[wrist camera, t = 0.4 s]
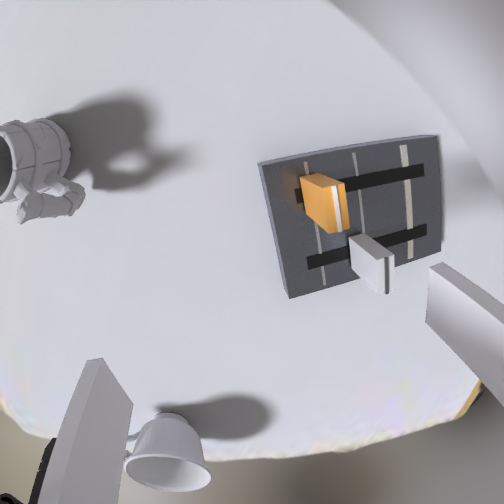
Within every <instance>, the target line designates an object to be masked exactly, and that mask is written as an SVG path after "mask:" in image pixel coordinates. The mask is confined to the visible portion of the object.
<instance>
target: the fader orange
mask: <svg viewBox="0 0 504 504" xmlns="http://www.w3.org/2000/svg"><path fill="white" fill-rule="evenodd" d="M300 182H301V188H302V193H303V199H304V204H305V210H306V214H307V215H308V216H309V217H310V218H311V219H312V220H314V221H315V222H316V223H317V224H318V225H319V226H321V227H322V228H323V229H324V230H325V231H326V232H327V233H328V234H330V233H334V232H342V230H346V229H350V224H349V215H348V207H347V200H346V192H345V185H344V183H342V182H340V181H337V180H335V179H332V178H330V177H327V176H324V175H322V174H319V173H316V174H311V175H306V176H301V177H300Z"/></svg>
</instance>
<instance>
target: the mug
mask: <svg viewBox="0 0 504 504" xmlns="http://www.w3.org/2000/svg"><path fill="white" fill-rule="evenodd" d="M70 148H71V144H70V140H69V138H68V135H67V134H66V132H65V131H64V130H63V129H62V128H60V127H59V126H58V125H57V124H56V123H55V122H53V121H51V120H47V119H45V118H41V119H34V120H31V121H29V122H27V123H23V122H20V121H19V120H14V121H11V122H8V123H5V124H3V125H1V126H0V204H1V203H3V202H13V201H17V200H20V201H21V202H22V203H21V204H20V205H19V207H18V209H17V214H16V216H17V220H18V223H19V224H23V223H24V222H26V221H28V220H31V219H35V218H46V217H53V218H55V217H57V216H62V215H63V216H72V215H73V214H74V212H75V210H77V209H79V207H80V206H81V204H82V203H83V201H84V199H85V191H84V190H85V189H84V187H82V186H81V185H79V184H77V183H75V182H72V181H70V180H68V179H66V178H64V177H63V176H64V174H65V173H66V171H67V169H68V167H69V164H70V159H68V158H71V152H70V151H69V149H70ZM51 188H52V189H53V190H55V191H57V192H58V193H60V196H59V197H55V196H53V195H49V194H45V193H42V192H45V191H47V190H49V189H51ZM40 193H42V194H40Z"/></svg>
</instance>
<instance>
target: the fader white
mask: <svg viewBox="0 0 504 504" xmlns="http://www.w3.org/2000/svg"><path fill="white" fill-rule="evenodd" d="M349 245H350V255H351V267H352V270H353V271H354V272H355V273H356V274H357V275H358V276H359V277H360V278H361V279H362V280H363V281H364V282H365V283H366V284H367V285H368V286H369V287H370V288H371V289H372V290H373V291H374V292H375V293H376V294H377V296H379V295H382V294H389V292H390V291H393V290H395V267H394V254H393V253H391V252H390V251H389V250H387V249H386V248H384V247H383V246H382V245H380V244H379V243H378V242H376V241H375V240H373V239H372V238H371V237H369V236H368V235H366V234H365V233H363V234H359V235H355V236H351V237H349Z"/></svg>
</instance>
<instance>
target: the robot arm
mask: <svg viewBox="0 0 504 504" xmlns="http://www.w3.org/2000/svg"><path fill="white" fill-rule="evenodd" d="M425 322H426V323H427V324H428V325H429V326H430V327H431V328H432V329H433V330H434V331H435V332H436V333H437V334H438V335H439V336H440V338H441V339H442V340H443V341H444V342H445V343H446V344H447V345H448V346H449V347H450V348H451V349H452V350H453V351H454V352H455V353H456V354H457V355H458V356H459V357H460V358H461V359H462V360H463V362H464V363H465V364H466V365H467V366H468V367H469V368H470V369H471V370H472V371H473V372H474V373H475V375H476V376H477V377H478V378H479V379H480V380H481V381H482V382H483V383H484V384H485V386H486V387H487V388H488V389H489V390H490V391H491V392H492V394H493V395H494V396H495V397H496V398H497V399H498V400H499V402H500V403H501V404H502V405H503V406H504V305H503V304H502V303H501V302H499V301H498V300H497V299H495V298H494V297H493V296H491V295H490V294H488V293H487V292H486V291H484V290H483V289H482V288H480V287H479V286H477V285H476V284H474V283H473V282H472V281H470V280H469V279H467V278H466V277H464V276H463V275H461V274H460V273H459V272H457V271H456V270H454V269H453V268H451V267H450V266H448V265H447V264H445V263H444V262H441V263H439V264H436V265H434V266H431V267H429V280H428V297H427V309H426V320H425ZM133 405H134V404H133V403H132V401H131V400H130V399H129V397H128V396H127V394H126V393H125V391H124V390H123V389H122V387H121V386H120V384H119V383H118V381H117V380H116V378H115V377H114V375H113V373H112V372H111V370H110V369H109V367H108V366H107V364H106V362H105V361H104V359H103V358H99V359H93V360H87V362H86V364H85V367H84V369H83V371H82V374H81V376H80V379H79V381H78V383H77V386H76V388H75V391H74V393H73V396H72V398H71V401H70V404H69V406H68V409H67V411H66V414H65V417H64V420H63V422H62V425H61V428H60V431H59V434H58V436H57V438H52V440H51V441H50V443H49V444H48V445H47V447H46V448H45V451H44V454H43V457H42V462H41V463H40V466H39V472H37V475H36V479H35V483H34V485H33V489H32V493H31V496H30V500H29V503H28V504H118V496H119V488H120V481H121V474H122V467H123V461H124V454H125V448H126V442H127V437H128V431H129V425H130V420H131V415H132V410H133ZM0 504H23V503H21V502H20V501H19V500H17V499H16V498H15V497H13V496H12V495H10V494H7V493H4V494H1V495H0Z"/></svg>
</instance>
